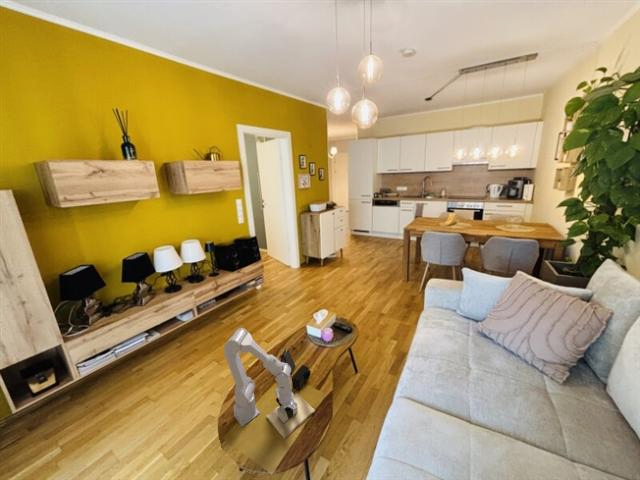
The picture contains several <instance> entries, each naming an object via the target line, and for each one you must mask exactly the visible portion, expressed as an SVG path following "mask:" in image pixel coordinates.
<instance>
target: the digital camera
mask: <svg viewBox="0 0 640 480" xmlns="http://www.w3.org/2000/svg"><path fill="white" fill-rule="evenodd" d="M310 377H311V370H310V369H309V366H306V365H303V364H302V365H301V366H300V367H299V369H298V370H297V371H296V372H295V373H294V374H293V375H292V377H291V387H292V389H294V390H296V391H298V392H300V391H301V390H302V389H303V387H304V386H305V384H306V383H307V382H308V380H309V379H310Z"/></svg>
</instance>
